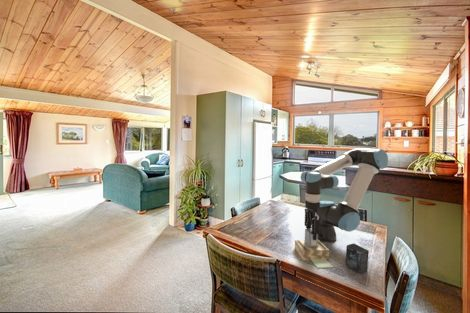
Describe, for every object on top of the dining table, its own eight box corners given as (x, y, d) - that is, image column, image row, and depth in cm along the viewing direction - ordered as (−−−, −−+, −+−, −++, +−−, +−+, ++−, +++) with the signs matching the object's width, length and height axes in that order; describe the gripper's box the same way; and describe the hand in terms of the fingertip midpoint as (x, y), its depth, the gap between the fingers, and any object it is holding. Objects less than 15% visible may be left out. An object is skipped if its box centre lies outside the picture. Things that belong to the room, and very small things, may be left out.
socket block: (317, 247, 126) (318, 238, 126) (328, 259, 114) (329, 249, 114) (294, 248, 125) (294, 239, 124) (303, 260, 113) (303, 250, 113)
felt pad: (324, 258, 115) (324, 257, 115) (333, 267, 107) (333, 266, 107) (310, 259, 114) (310, 258, 114) (317, 268, 106) (317, 267, 106)
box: (345, 265, 109) (346, 245, 108) (352, 262, 111) (354, 242, 110) (359, 274, 102) (361, 252, 101) (367, 271, 104) (369, 250, 103)
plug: (312, 250, 122) (313, 227, 121) (317, 254, 117) (318, 231, 116) (304, 250, 122) (305, 228, 121) (308, 255, 117) (309, 231, 116)
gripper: (299, 196, 126) (297, 235, 128) (313, 206, 108) (311, 251, 110) (311, 196, 127) (310, 235, 129) (328, 205, 109) (326, 250, 111)
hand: (310, 242), depth 119 cm, fingers closed on plug, 5 cm apart
